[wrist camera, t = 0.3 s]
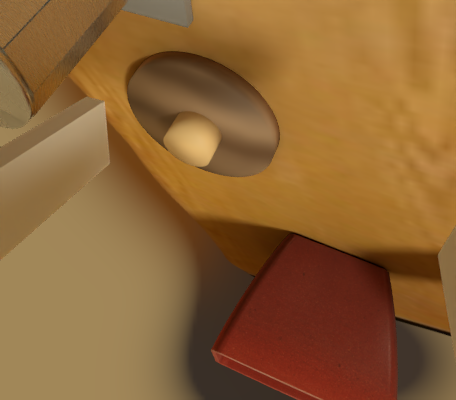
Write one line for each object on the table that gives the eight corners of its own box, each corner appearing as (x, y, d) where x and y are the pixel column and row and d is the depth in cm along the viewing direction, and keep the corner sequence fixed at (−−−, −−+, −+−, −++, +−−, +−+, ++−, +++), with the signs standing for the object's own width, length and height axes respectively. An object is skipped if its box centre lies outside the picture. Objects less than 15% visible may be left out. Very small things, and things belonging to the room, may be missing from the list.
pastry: (172, 105, 33) (158, 127, 32) (220, 120, 32) (207, 143, 31) (180, 136, 37) (168, 157, 36) (222, 150, 36) (211, 172, 35)
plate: (116, 32, 30) (106, 44, 30) (287, 81, 27) (280, 96, 27) (153, 139, 43) (147, 149, 42) (273, 180, 40) (268, 192, 39)
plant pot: (373, 306, 60) (343, 422, 53) (257, 259, 63) (214, 362, 56) (431, 272, 43) (398, 436, 36) (269, 209, 46) (210, 349, 39)
